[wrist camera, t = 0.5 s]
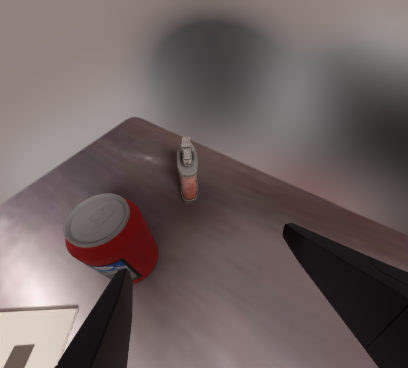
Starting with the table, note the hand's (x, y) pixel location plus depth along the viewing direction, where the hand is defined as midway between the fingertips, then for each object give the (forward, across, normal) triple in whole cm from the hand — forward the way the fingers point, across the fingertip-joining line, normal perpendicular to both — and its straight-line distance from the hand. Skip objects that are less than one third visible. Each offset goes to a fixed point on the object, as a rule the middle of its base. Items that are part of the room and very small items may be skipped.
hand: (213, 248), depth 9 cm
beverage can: (+12, +8, +13) cm, 20 cm away
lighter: (+23, -2, +9) cm, 25 cm away
